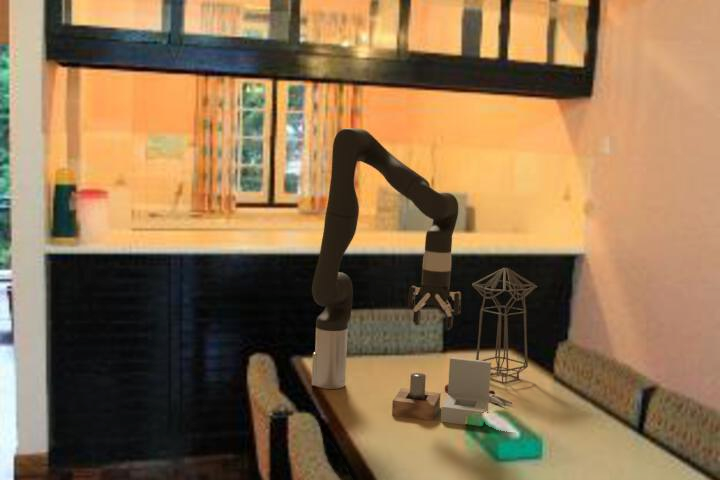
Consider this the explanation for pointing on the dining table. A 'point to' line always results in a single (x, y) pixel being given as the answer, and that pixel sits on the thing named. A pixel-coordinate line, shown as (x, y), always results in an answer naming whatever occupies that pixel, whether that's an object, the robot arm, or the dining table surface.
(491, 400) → the pliers
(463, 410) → the block
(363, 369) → the dining table surface
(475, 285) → the geometric lantern
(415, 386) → the steel rod
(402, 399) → the socket block
